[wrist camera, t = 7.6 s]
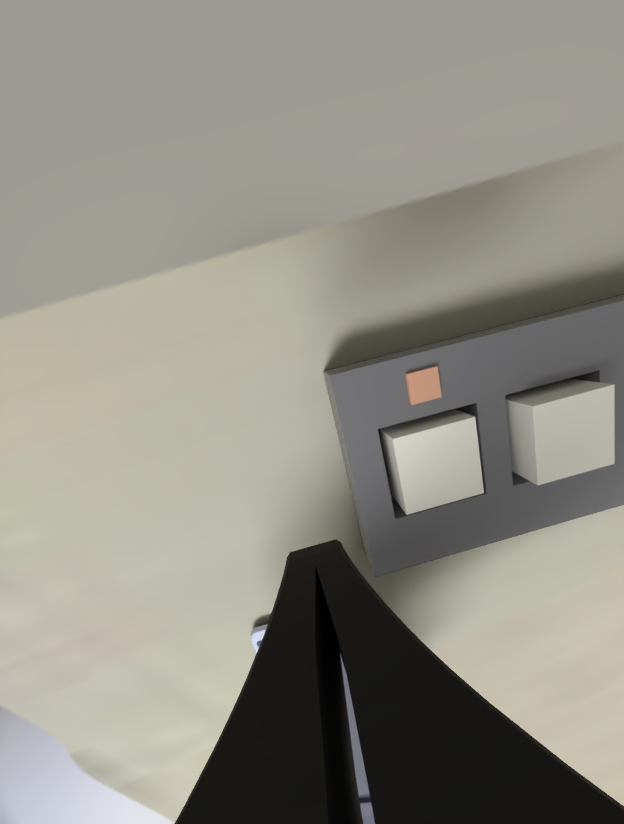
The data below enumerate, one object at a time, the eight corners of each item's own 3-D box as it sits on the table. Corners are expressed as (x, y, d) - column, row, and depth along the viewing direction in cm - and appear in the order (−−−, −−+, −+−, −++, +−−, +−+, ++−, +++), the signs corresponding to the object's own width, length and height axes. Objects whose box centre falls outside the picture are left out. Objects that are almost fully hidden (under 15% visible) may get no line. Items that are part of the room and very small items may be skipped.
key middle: (573, 448, 19) (614, 463, 17) (505, 467, 19) (537, 485, 17) (571, 378, 18) (614, 384, 16) (499, 397, 18) (532, 406, 16)
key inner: (459, 474, 19) (484, 493, 17) (391, 493, 19) (406, 515, 17) (450, 407, 18) (475, 416, 16) (377, 426, 18) (392, 439, 16)
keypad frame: (688, 459, 22) (737, 473, 19) (365, 551, 20) (376, 579, 18) (699, 275, 19) (759, 266, 16) (323, 371, 17) (330, 375, 15)
